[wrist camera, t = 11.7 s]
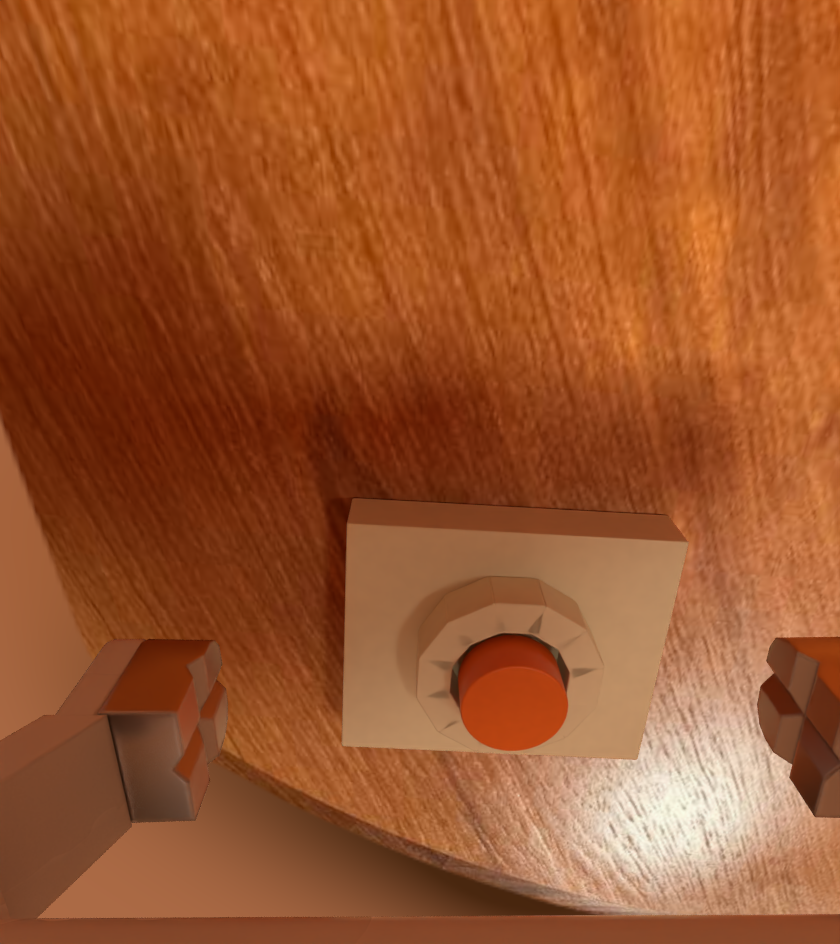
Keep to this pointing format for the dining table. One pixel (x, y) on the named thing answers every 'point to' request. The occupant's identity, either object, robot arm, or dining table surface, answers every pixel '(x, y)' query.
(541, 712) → the button
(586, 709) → the button box
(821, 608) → the dining table surface
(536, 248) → the dining table surface
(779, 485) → the dining table surface
